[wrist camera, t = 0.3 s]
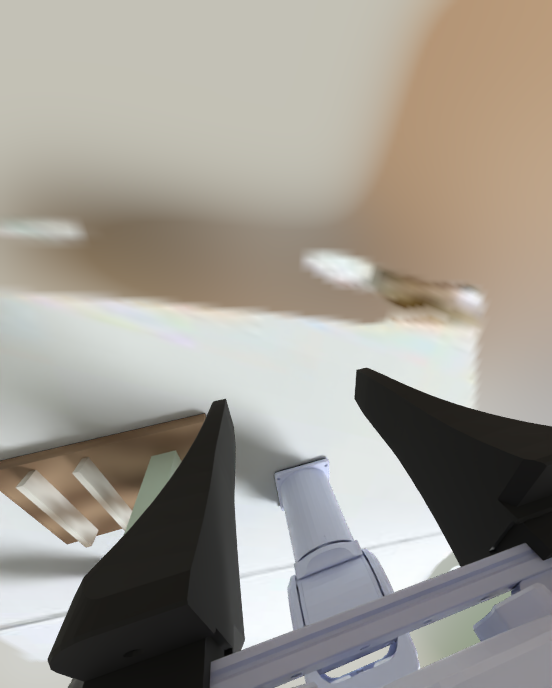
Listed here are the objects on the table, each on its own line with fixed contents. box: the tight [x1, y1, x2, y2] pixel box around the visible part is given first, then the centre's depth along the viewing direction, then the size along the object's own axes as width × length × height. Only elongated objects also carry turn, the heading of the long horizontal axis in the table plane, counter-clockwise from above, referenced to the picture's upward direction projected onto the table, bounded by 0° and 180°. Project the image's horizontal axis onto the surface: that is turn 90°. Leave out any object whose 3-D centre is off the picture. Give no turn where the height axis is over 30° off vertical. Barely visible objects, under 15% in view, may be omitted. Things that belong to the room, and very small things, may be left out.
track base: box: [0, 413, 206, 547], centre depth 24 cm, size 14×20×3 cm
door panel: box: [124, 450, 182, 535], centre depth 21 cm, size 8×2×7 cm, turn 7°
